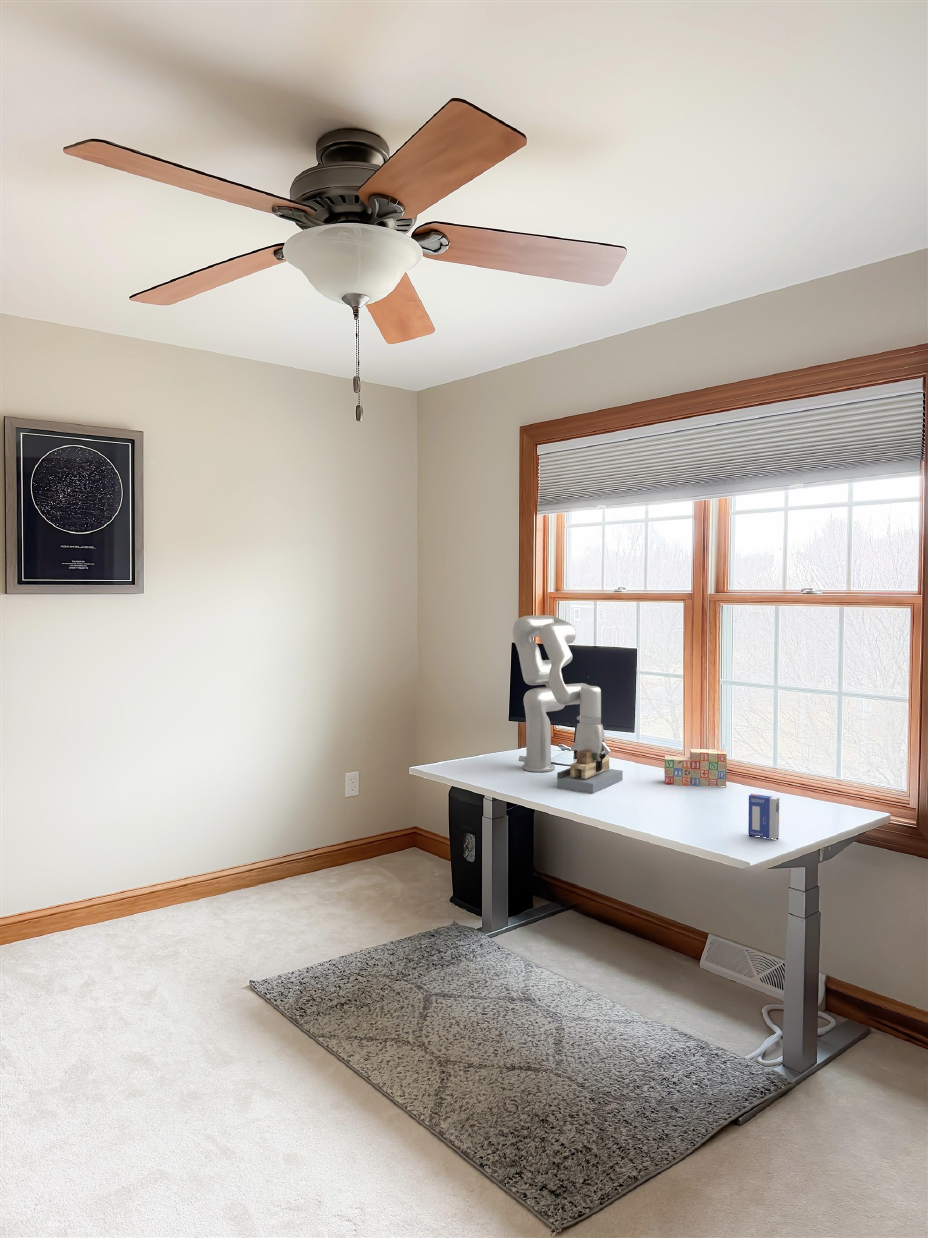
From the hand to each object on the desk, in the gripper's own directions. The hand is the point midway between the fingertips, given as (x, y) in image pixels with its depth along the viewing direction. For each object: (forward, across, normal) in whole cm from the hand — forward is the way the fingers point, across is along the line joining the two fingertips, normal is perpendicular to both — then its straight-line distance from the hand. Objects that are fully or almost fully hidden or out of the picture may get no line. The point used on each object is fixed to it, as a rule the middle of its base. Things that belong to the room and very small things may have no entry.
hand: (590, 769), depth 300 cm
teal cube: (-3, 0, +4) cm, 6 cm away
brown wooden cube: (-3, 0, -5) cm, 6 cm away
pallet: (+1, 0, 0) cm, 1 cm away
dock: (+5, 0, 0) cm, 5 cm away
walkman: (+5, +69, -29) cm, 75 cm away
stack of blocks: (+6, +31, +21) cm, 38 cm away
